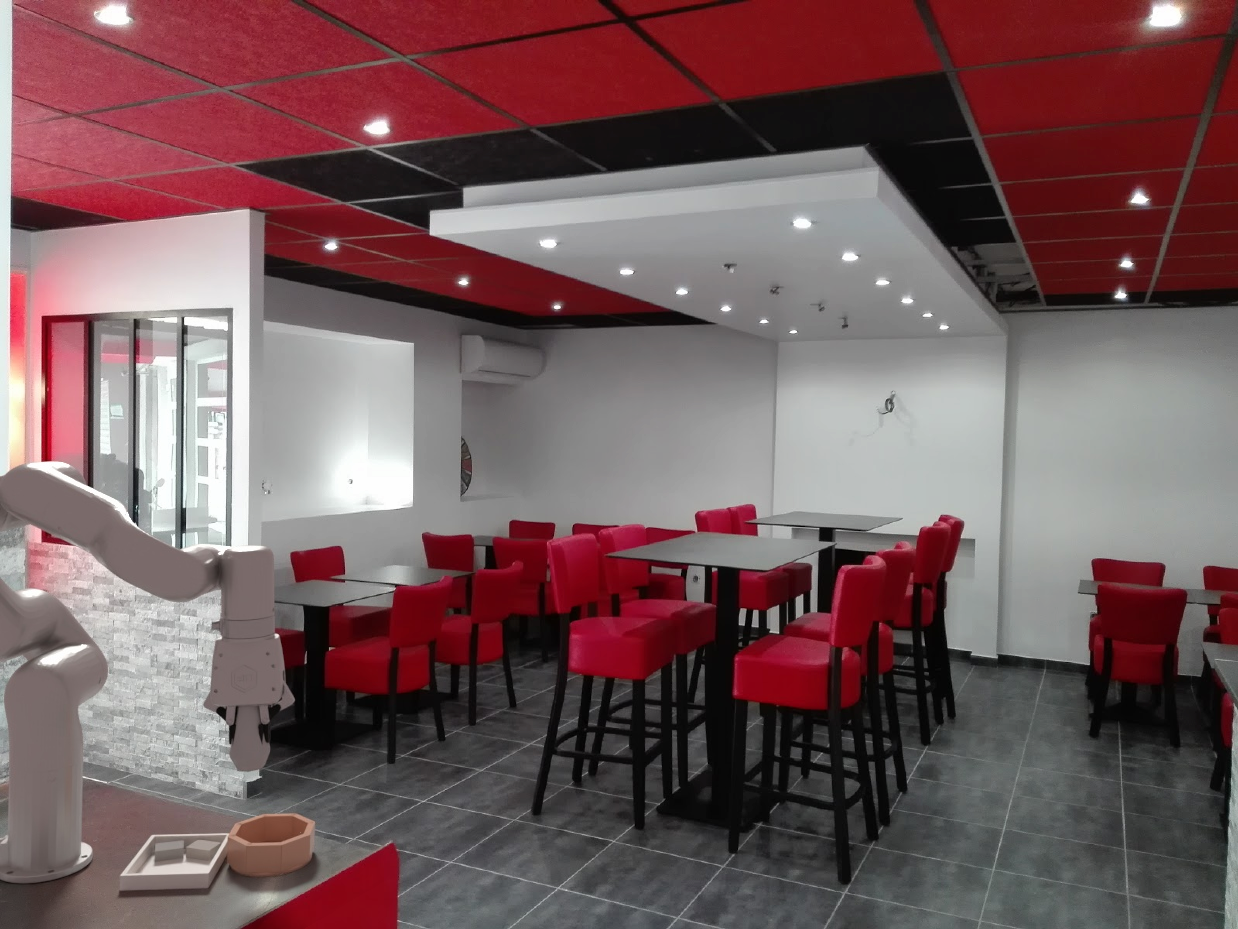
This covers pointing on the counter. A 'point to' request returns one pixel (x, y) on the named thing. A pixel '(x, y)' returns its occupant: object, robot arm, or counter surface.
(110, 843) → the counter surface
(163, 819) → the counter surface
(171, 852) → the grey rectangular block
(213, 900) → the counter surface
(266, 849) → the bowl
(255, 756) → the salt shaker
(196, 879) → the tray
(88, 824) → the counter surface
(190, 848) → the beige rectangular block
